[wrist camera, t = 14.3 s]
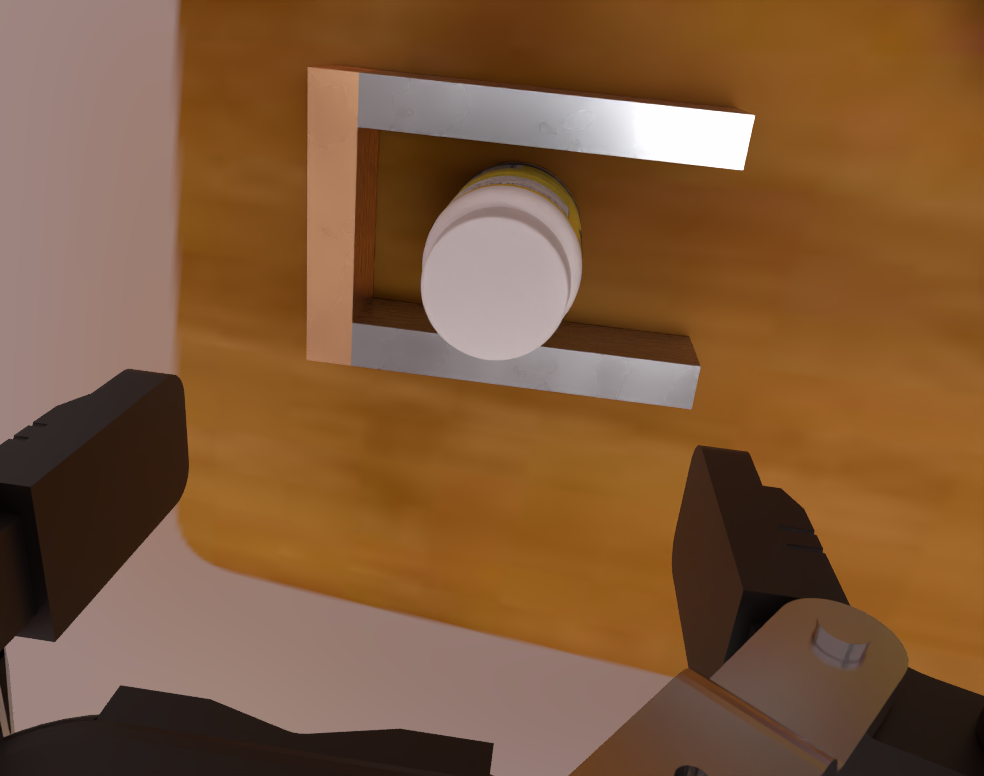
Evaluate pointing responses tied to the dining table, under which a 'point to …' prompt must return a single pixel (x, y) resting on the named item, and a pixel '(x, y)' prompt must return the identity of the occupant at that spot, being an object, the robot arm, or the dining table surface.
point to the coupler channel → (501, 119)
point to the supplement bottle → (503, 262)
